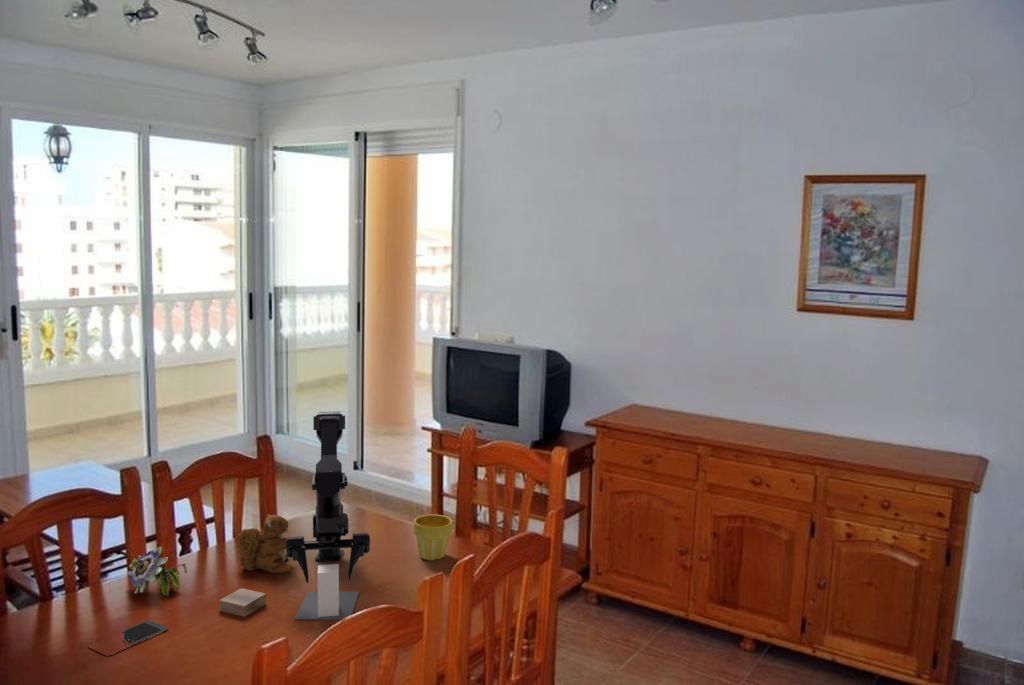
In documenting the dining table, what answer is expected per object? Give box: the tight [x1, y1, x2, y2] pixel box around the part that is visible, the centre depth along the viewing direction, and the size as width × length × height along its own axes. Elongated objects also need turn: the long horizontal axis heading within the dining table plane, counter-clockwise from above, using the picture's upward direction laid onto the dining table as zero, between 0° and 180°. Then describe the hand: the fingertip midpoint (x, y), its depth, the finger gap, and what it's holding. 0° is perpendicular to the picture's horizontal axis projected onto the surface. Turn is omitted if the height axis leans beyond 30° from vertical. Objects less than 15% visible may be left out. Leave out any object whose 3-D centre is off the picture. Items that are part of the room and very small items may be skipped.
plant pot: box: [412, 514, 453, 561], centre depth 210 cm, size 10×10×10 cm
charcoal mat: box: [294, 590, 360, 621], centre depth 180 cm, size 14×12×1 cm
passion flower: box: [127, 545, 188, 597], centre depth 187 cm, size 11×11×12 cm
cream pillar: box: [317, 563, 340, 617], centre depth 176 cm, size 4×4×10 cm
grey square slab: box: [219, 587, 267, 618], centre depth 178 cm, size 7×7×2 cm
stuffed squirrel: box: [236, 513, 292, 574], centre depth 201 cm, size 10×14×13 cm
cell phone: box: [103, 619, 169, 652], centre depth 163 cm, size 7×14×1 cm, turn 148°
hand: (328, 580), depth 178 cm, fingers open, 9 cm apart
